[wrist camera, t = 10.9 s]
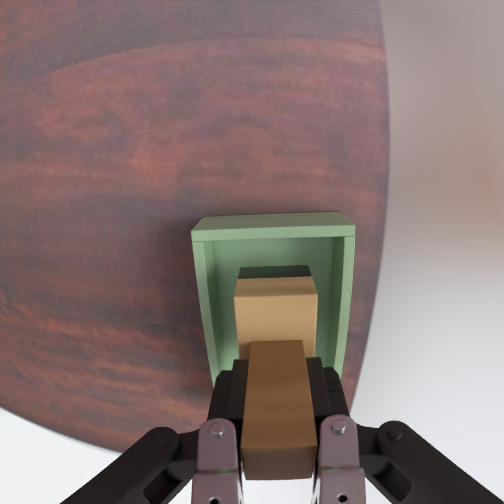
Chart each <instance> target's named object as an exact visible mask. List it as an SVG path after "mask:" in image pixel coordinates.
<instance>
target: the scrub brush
mask: <svg viewBox="0 0 504 504" xmlns="http://www.w3.org/2000/svg"><path fill="white" fill-rule="evenodd" d="M233 300H234V311H235V321H236V332H237V342H238V352H239V359H249V362H248V373H247V384H246V395H245V405H244V416H243V425H242V435H241V446H240V448H241V455H242V461H243V467H244V473H245V479H246V480H292V479H306V478H311V477H312V473H313V468H314V463H315V458H316V452H317V447H318V442H317V435H316V427H315V419H314V413H313V405H312V398H311V391H310V384H309V378H308V371H307V364H306V358H305V357H314V354H315V339H316V322H317V301H318V294H317V291H316V288H315V285H314V282H313V279H312V275H311V272H310V269H309V266H308V265H291V266H262V267H240V270H239V274H238V280H237V284H236V288H235V293H234V297H233Z"/></svg>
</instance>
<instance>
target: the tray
mask: <svg viewBox="0 0 504 504" xmlns="http://www.w3.org/2000/svg"><path fill="white" fill-rule="evenodd" d="M355 227H356V226H355V224H354V223H353V222H351V221H350V220H349V219H348V218H347V217H346V216H345V215H344V214H343V213H341V212H315V213H279V214H253V215H230V216H210V217H203V218H202V219H201V220H200V221H199V222H198V223H197V225H196V226H195V227H194V228H193V229H192V230H191V239H192V248H193V256H194V264H195V272H196V280H197V287H198V295H199V302H200V309H201V316H202V322H203V329H204V335H205V342H206V348H207V354H208V360H209V366H210V371H211V377H212V383H213V388H214V385H215V380H216V377H217V376H218V375H219V373H220V372H221V371H222V370H232V367H233V361H234V359H239V352H238V342H237V332H236V321H235V311H234V300H233V297H234V293H235V288H236V284H237V280H238V274H239V270H240V267H262V266H291V265H308V266H309V269H310V272H311V275H312V279H313V282H314V285H315V288H316V291H317V294H318V301H317V322H316V339H315V354H314V357H320V358H321V362H322V366H323V367H333V368H334V369H335V370H336V372H337V373H338V374H339V377H340V380H341V374H342V367H343V360H344V353H345V346H346V338H347V330H348V321H349V312H350V302H351V291H352V279H353V265H354V249H355Z"/></svg>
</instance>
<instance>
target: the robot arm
mask: <svg viewBox="0 0 504 504" xmlns="http://www.w3.org/2000/svg"><path fill="white" fill-rule="evenodd" d="M305 358H306V364H307V371H308V378H309V384H310V391H311V398H312V405H313V413H314V419H315V427H316V435H317V442H318V447H317V452H316V458H315V463H314V474H313V489H312V500H311V504H366V493H365V477H366V478H367V479H368V480H369V481H370V482H371V483H372V484H373V485H374V486H375V487H376V488H377V489H378V490H379V491H380V492H381V493H382V494H383V495H384V496H385V497H386V498H387V499H388V500H389V501H390V502H391V503H392V504H504V502H503V501H502V500H501V499H499V498H498V497H497V496H495V495H494V494H493V493H492V492H490V491H489V490H487V489H486V488H485V487H484V486H482V485H481V484H480V483H479V482H477V481H476V480H475V479H473V478H472V477H471V476H470V475H468V474H467V473H466V472H464V471H463V470H462V469H461V468H459V467H458V466H456V464H454V463H453V462H452V461H451V460H449V459H448V458H447V457H446V456H444V455H443V454H442V453H441V452H439V451H438V450H437V449H436V448H434V447H433V446H432V445H431V444H429V443H428V442H427V441H426V440H425V439H423V438H422V437H421V436H420V435H418V434H417V433H416V432H415V431H414V430H412V429H411V428H410V427H409V426H408V425H406V424H405V423H403V422H400V421H388V422H385V423H384V424H382V425H381V426H380V427H379V428H372V427H364V426H361V425H359V424H357V423H355V421H354V420H353V419H352V418H351V417H350V415H349V412H348V408H347V404H346V400H345V396H344V392H343V388H342V385H341V381H340V377H339V374H338V373H337V372H336V370H335V369H334V368H333V367H323V366H322V362H321V358H320V357H305ZM248 362H249V359H234V361H233V367H232V370H222V371H221V372H220V373H219V375H218V376H217V377H216V380H215V385H214V390H213V394H212V399H211V404H210V408H209V413H208V418H207V421H205V422H204V423H203V424H202V425H201V426H200V428H199V429H197V430H195V431H192V432H188V433H181V434H177V433H176V432H175V431H174V430H173V429H171V428H168V427H157V428H154V429H152V430H150V431H149V432H147V433H146V434H145V435H144V436H143V437H142V438H140V439H139V440H138V441H137V442H136V443H135V444H134V445H132V446H131V447H130V448H129V449H128V450H126V451H125V452H124V453H123V454H122V455H121V456H119V457H118V458H117V459H116V460H115V461H114V462H112V463H111V464H110V465H109V466H107V467H106V468H105V469H104V470H102V471H101V472H100V473H99V474H97V475H96V476H95V477H94V478H92V479H91V480H90V481H89V482H87V483H86V484H85V485H84V486H82V487H81V488H80V489H78V490H77V491H76V492H75V493H73V494H72V495H71V496H69V497H68V498H67V499H65V500H64V501H63V502H61V503H60V504H168V503H169V502H170V501H171V500H172V499H173V498H174V497H175V496H176V495H177V494H178V493H179V492H180V491H181V490H182V489H183V488H184V487H185V486H186V485H187V483H188V482H189V481H190V480H191V479H192V498H191V504H244V499H243V485H242V470H241V461H242V455H241V448H240V446H241V435H242V425H243V416H244V405H245V395H246V384H247V373H248Z"/></svg>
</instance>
